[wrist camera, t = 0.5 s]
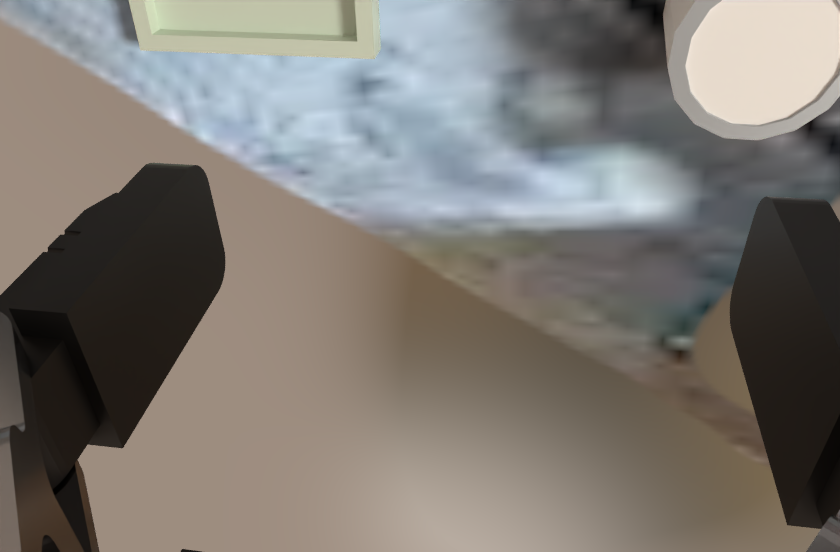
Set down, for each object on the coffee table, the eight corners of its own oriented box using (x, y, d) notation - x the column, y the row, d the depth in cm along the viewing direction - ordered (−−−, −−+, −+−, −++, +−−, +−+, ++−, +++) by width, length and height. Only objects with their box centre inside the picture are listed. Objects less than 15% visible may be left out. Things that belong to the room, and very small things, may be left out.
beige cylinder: (626, 60, 34) (640, 118, 29) (686, -97, 30) (716, -66, 25) (766, 95, 34) (808, 160, 29) (845, -57, 30) (911, -16, 25)
